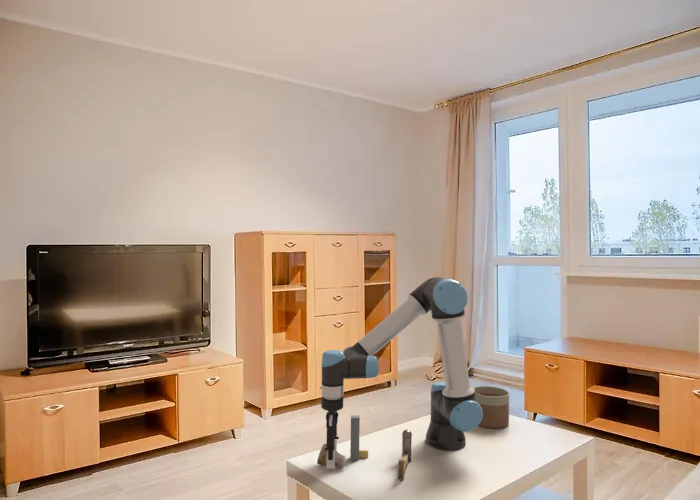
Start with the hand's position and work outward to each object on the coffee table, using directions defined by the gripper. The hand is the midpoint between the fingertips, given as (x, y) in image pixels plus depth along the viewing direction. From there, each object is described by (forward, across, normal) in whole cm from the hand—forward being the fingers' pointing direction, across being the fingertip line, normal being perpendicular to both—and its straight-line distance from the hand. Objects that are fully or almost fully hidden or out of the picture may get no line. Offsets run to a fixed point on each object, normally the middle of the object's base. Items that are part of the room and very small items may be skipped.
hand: (331, 463), depth 176 cm
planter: (+1, -49, +64) cm, 81 cm away
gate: (+1, +2, +24) cm, 24 cm away
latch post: (+1, -7, +9) cm, 12 cm away
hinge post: (+1, -7, +26) cm, 27 cm away
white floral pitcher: (+1, 0, 0) cm, 1 cm away
